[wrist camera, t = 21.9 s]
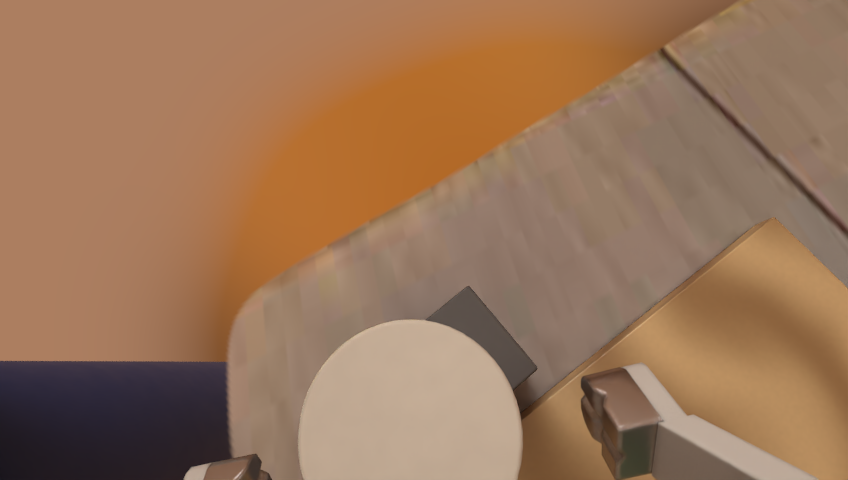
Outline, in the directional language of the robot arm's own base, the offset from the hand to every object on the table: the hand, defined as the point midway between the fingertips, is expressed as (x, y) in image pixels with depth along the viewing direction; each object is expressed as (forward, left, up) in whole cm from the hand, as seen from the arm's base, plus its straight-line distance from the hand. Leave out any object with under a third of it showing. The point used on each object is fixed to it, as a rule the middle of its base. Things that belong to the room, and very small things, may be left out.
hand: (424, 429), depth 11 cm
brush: (0, +1, -8) cm, 8 cm away
